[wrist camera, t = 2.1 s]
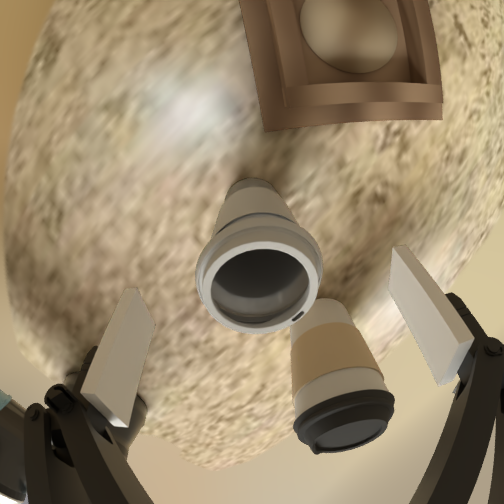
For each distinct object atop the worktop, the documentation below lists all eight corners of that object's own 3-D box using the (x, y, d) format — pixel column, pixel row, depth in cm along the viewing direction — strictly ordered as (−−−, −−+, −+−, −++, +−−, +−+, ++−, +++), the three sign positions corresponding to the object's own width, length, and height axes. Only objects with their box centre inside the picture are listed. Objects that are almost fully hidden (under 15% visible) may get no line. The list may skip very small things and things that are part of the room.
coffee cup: (351, 278, 29) (406, 401, 17) (361, 333, 34) (400, 440, 21) (268, 306, 31) (283, 439, 18) (291, 356, 35) (308, 467, 22)
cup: (255, 253, 28) (263, 355, 17) (195, 212, 25) (166, 303, 15) (309, 197, 25) (355, 280, 15) (248, 147, 23) (255, 199, 12)
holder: (264, 130, 22) (268, 136, 19) (228, -44, 14) (227, -62, 11) (436, 118, 21) (459, 124, 18) (408, -37, 13) (427, -47, 10)
